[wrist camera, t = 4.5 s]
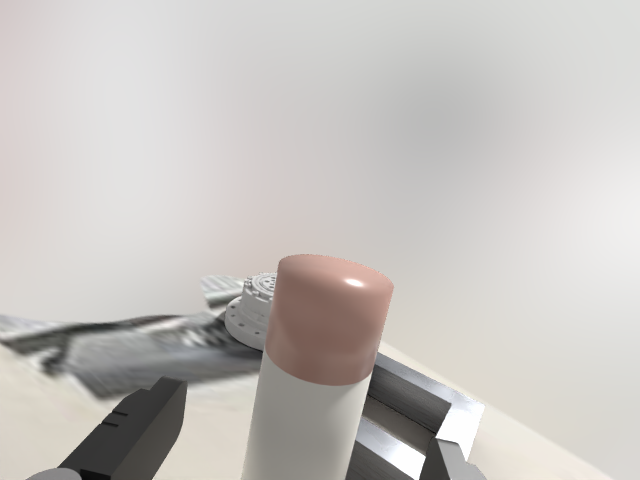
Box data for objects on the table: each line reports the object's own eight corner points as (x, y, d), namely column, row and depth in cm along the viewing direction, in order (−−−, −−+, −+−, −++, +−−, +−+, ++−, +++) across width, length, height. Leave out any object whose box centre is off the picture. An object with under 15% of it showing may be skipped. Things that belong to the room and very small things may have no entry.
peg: (209, 543, 14) (253, 262, 11) (275, 479, 17) (321, 250, 15) (284, 629, 12) (360, 309, 9) (343, 536, 15) (410, 282, 13)
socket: (284, 434, 20) (291, 397, 19) (356, 372, 27) (363, 344, 27) (437, 548, 15) (452, 504, 15) (473, 437, 23) (485, 405, 22)
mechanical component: (211, 348, 27) (333, 365, 28) (218, 297, 26) (344, 316, 27) (234, 298, 37) (325, 312, 38) (240, 260, 36) (333, 275, 37)
